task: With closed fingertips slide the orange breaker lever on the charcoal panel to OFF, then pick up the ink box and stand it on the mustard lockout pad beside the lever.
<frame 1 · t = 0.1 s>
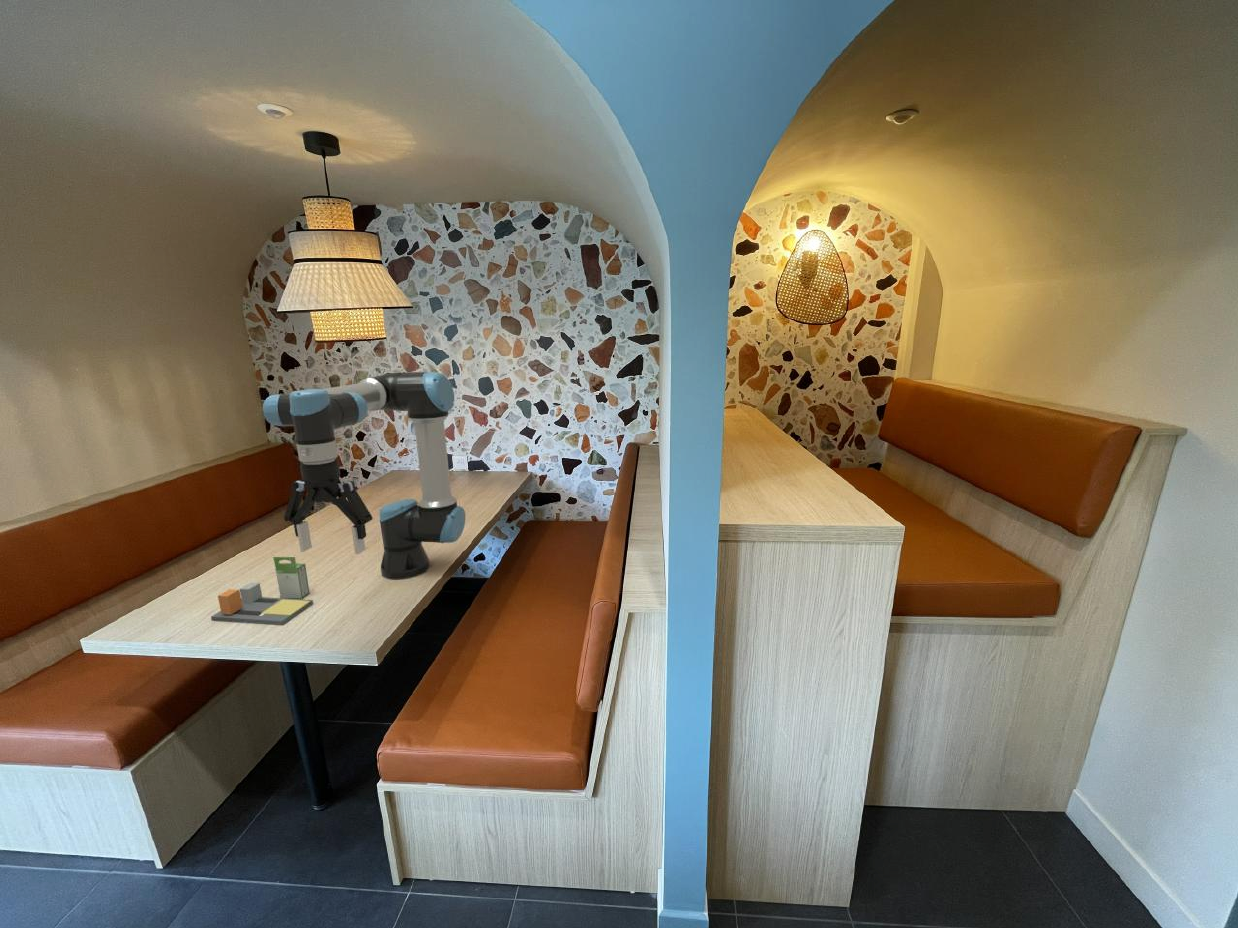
hand: (333, 550, 124), 28 cm above the table, fingers open, 13 cm apart
ink box: (295, 596, 164), on the table
lockout pad: (286, 611, 154), resting on panel
panel: (263, 611, 154), on the table
breaker lever: (230, 601, 152), point 4 cm above the table, slide at 0.0 cm
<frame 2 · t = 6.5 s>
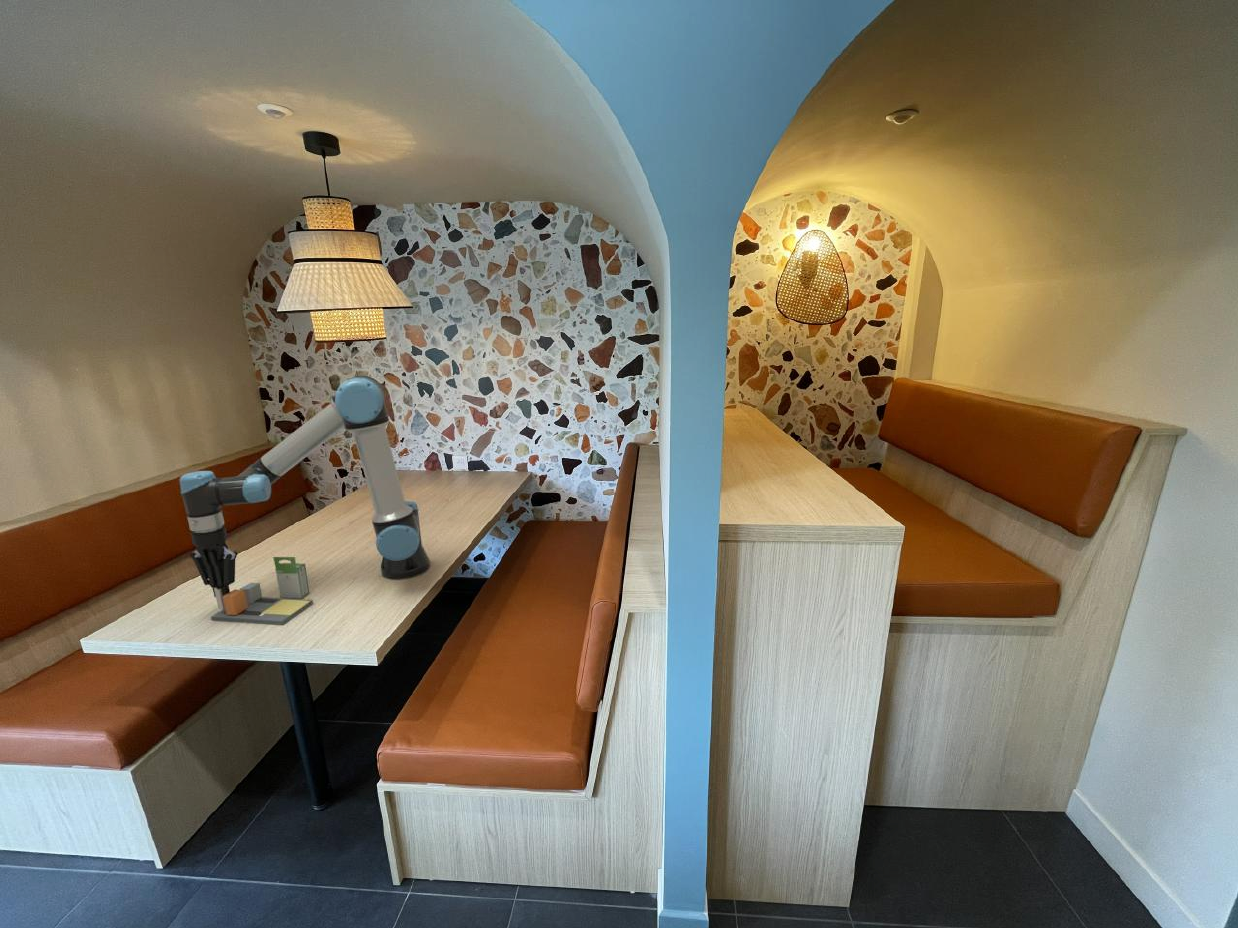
hand: (225, 607, 152), 2 cm above the table, fingers closed
breaker lever: (235, 602, 151), point 4 cm above the table, slide at 1.6 cm, touching gripper
everything else where it was.
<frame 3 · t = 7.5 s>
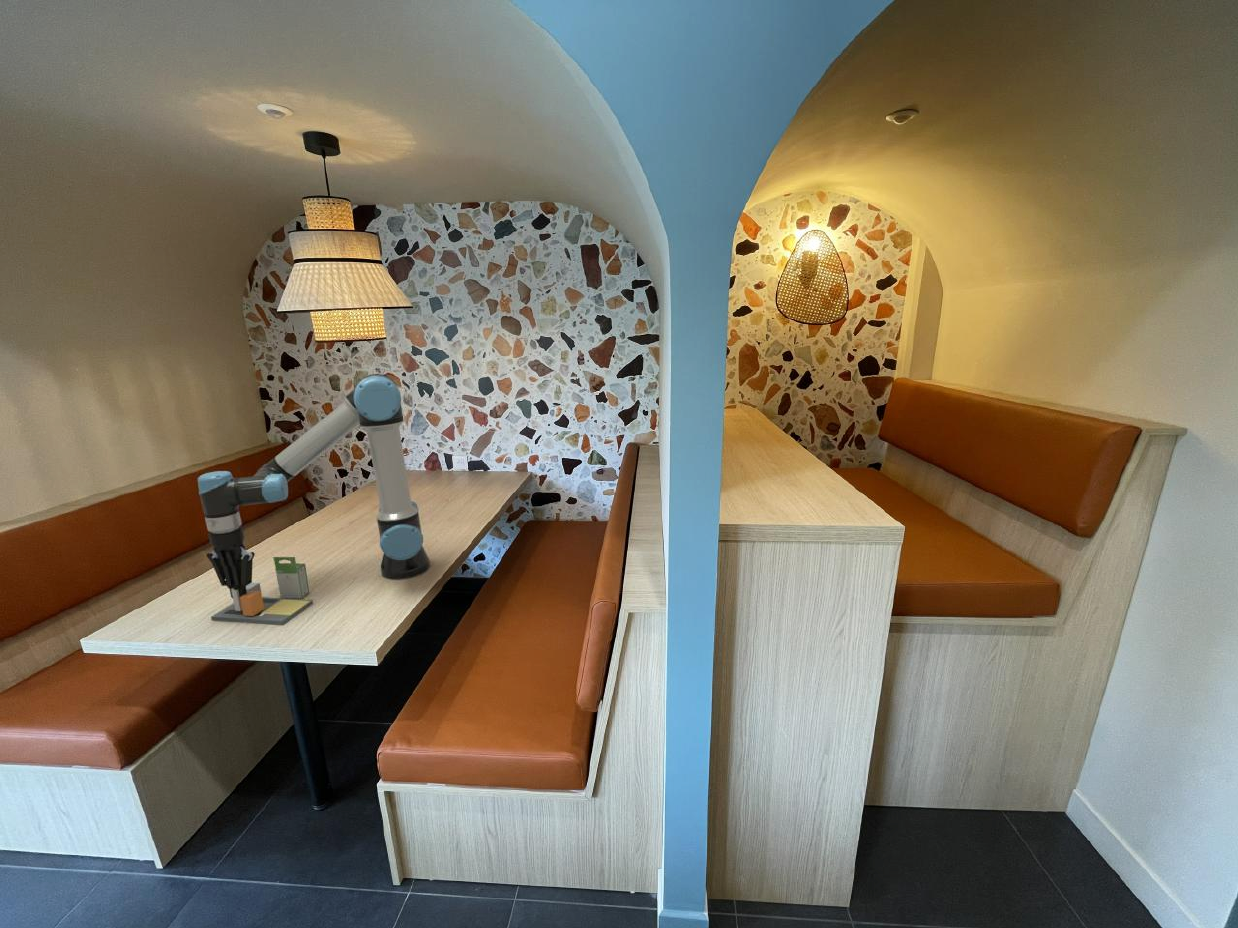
hand: (241, 608, 152), 2 cm above the table, fingers closed
breaker lever: (252, 603, 150), point 4 cm above the table, slide at 6.9 cm, touching gripper
everything else where it was.
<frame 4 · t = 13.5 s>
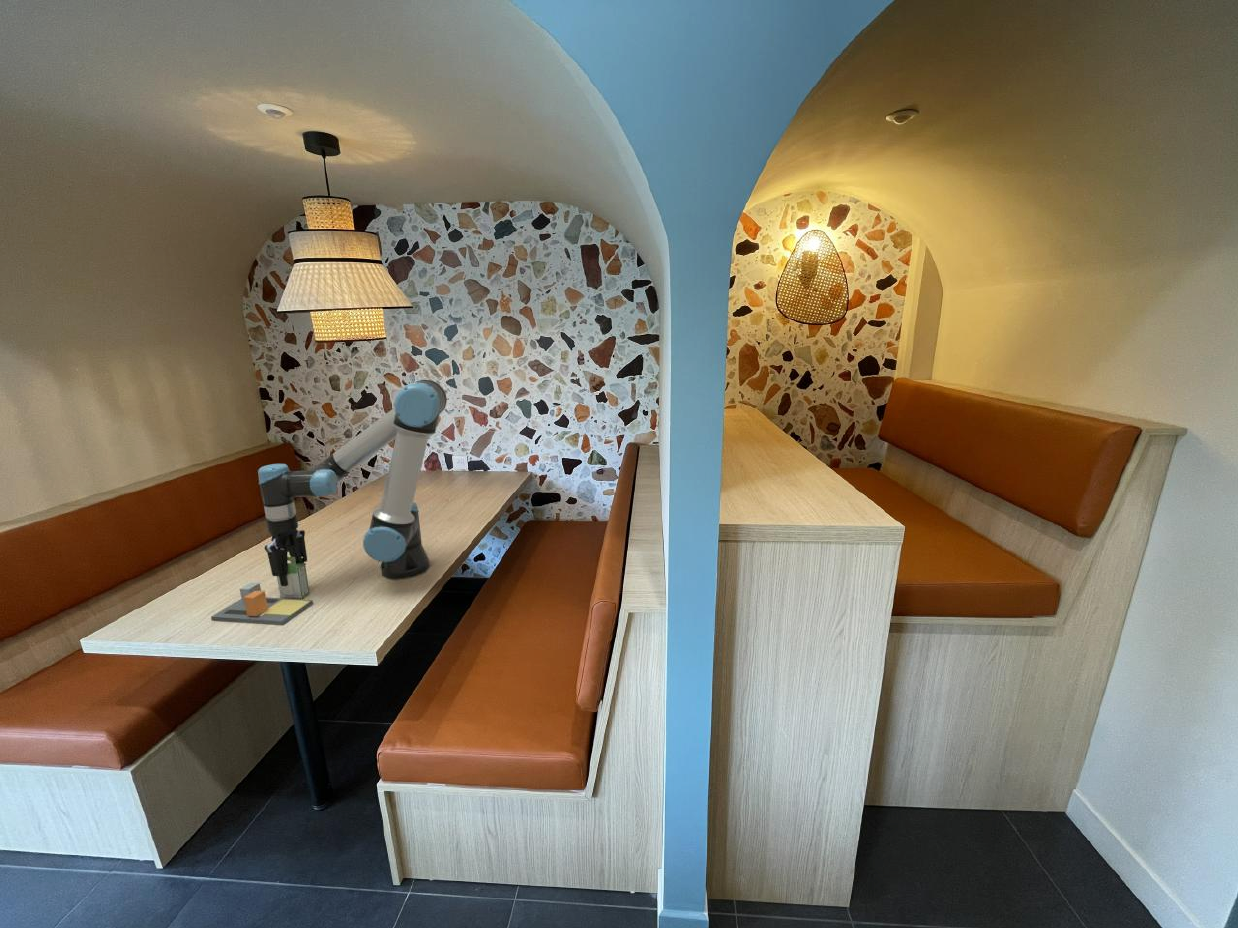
hand: (294, 590, 163), 2 cm above the table, fingers closed on ink box, 4 cm apart
ink box: (295, 596, 164), on the table, touching gripper
breaker lever: (256, 603, 150), point 4 cm above the table, slide at 8.0 cm
when the fingers open (5 cm above the table, at t = 17.9 s): ink box drops 2 cm, resting on lockout pad.
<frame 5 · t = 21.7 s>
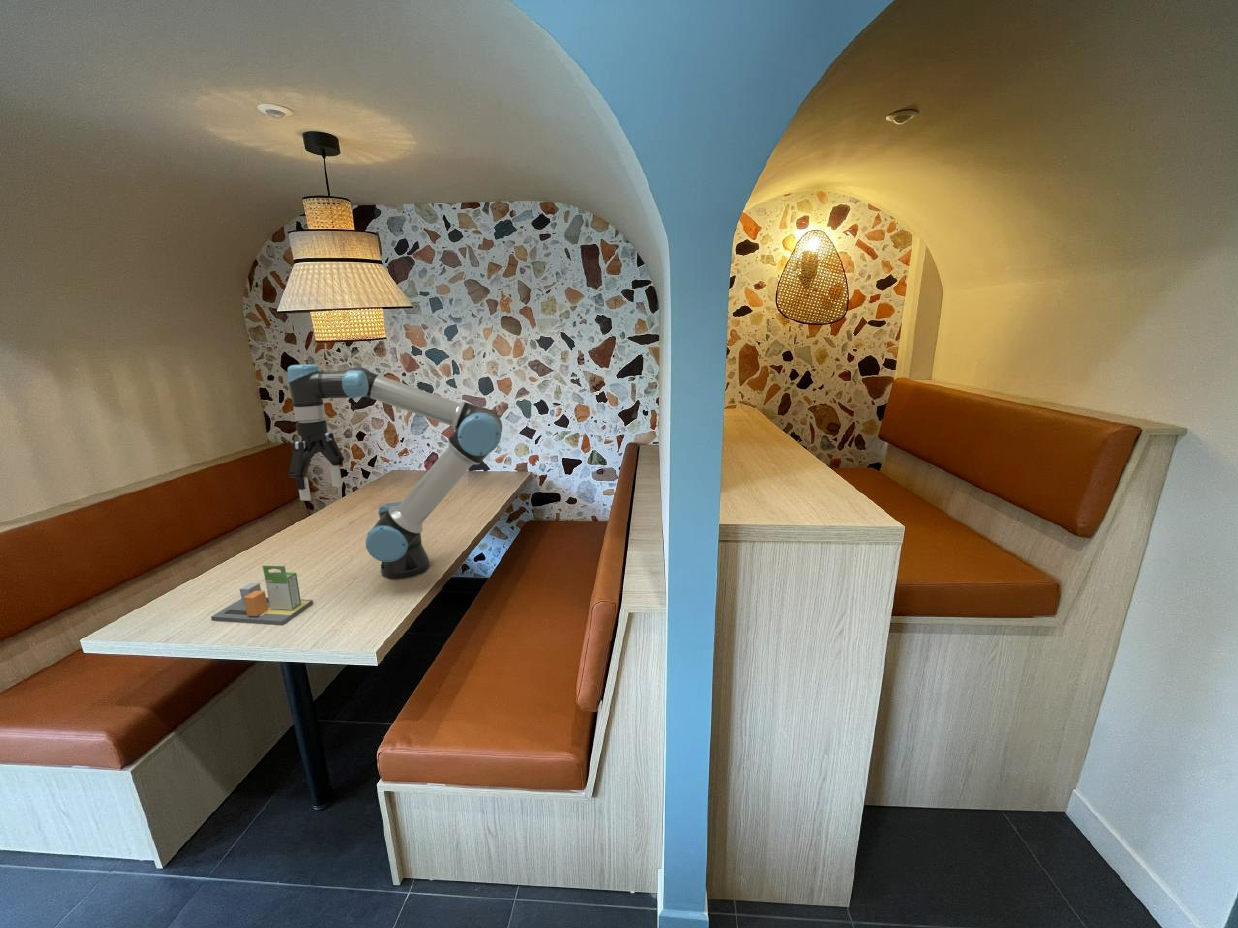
hand: (322, 493, 157), 32 cm above the table, fingers open, 13 cm apart
ink box: (286, 607, 154), point 1 cm above the table, touching lockout pad
everything else where it was.
at the end: breaker lever slide at 8.0 cm; ink box 0.1 cm from the lockout pad (horizontally); ink box tilted 0° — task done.
